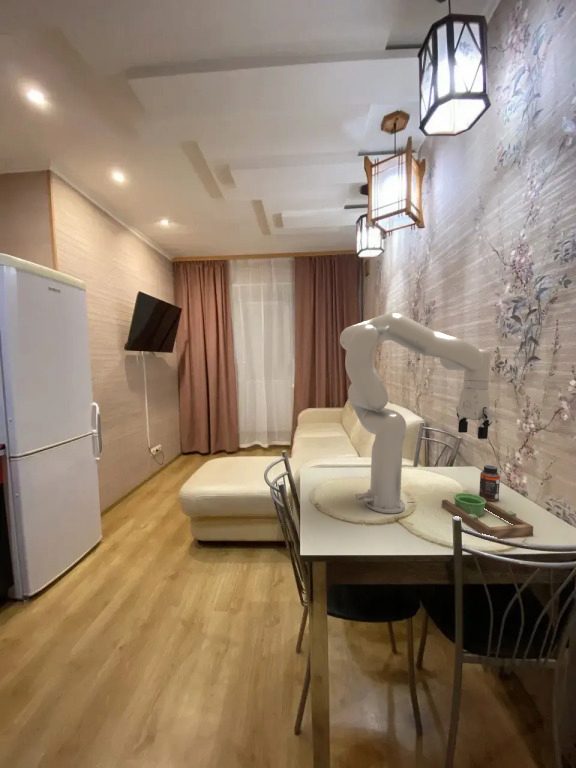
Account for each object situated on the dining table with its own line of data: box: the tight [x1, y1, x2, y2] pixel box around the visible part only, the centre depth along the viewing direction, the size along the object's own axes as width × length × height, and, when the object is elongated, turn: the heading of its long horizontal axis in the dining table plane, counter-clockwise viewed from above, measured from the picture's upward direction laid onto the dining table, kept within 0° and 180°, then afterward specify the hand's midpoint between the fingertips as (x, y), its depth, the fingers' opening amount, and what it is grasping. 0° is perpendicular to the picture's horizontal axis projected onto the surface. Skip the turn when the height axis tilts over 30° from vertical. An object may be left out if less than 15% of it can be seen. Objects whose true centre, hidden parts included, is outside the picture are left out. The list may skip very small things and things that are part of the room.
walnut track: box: [441, 499, 534, 539], centre depth 106 cm, size 14×20×3 cm
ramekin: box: [453, 492, 487, 517], centre depth 112 cm, size 9×9×4 cm
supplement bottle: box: [478, 464, 501, 502], centre depth 123 cm, size 6×6×11 cm
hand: (472, 435), depth 121 cm, fingers open, 9 cm apart
